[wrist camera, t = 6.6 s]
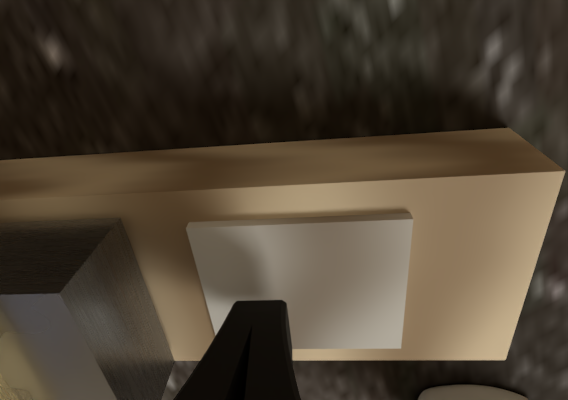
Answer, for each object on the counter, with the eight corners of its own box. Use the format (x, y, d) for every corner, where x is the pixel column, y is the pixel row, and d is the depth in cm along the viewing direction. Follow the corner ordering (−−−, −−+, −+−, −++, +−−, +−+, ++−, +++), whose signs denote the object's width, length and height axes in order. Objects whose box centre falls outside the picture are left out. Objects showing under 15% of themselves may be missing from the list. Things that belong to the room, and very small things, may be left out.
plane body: (15, 303, 17) (-44, 367, 14) (-73, 164, 14) (-174, 214, 11) (472, 294, 15) (509, 368, 12) (508, 127, 11) (572, 176, 9)
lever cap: (-8, 361, 14) (-108, 480, 10) (-110, 228, 11) (-296, 337, 7) (174, 361, 13) (128, 489, 10) (120, 217, 10) (27, 333, 7)
